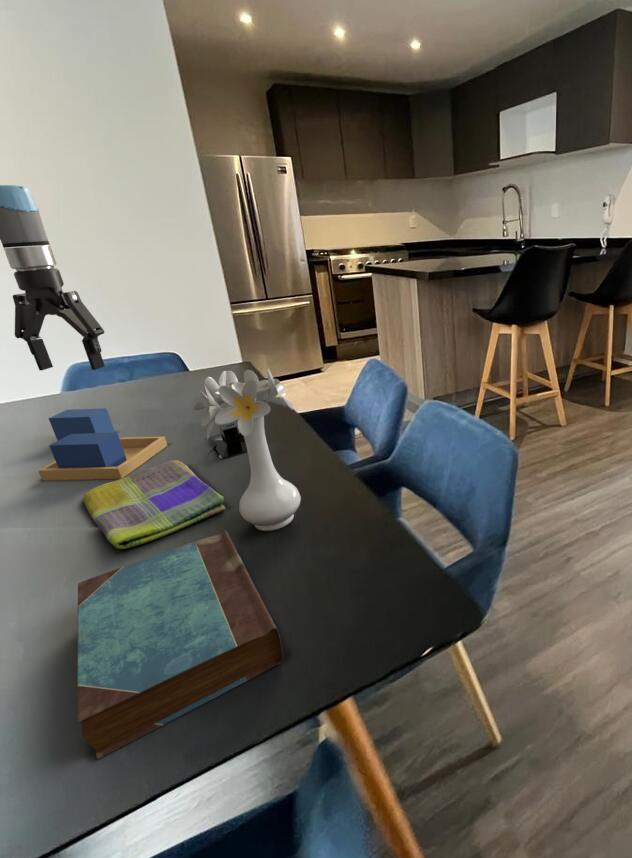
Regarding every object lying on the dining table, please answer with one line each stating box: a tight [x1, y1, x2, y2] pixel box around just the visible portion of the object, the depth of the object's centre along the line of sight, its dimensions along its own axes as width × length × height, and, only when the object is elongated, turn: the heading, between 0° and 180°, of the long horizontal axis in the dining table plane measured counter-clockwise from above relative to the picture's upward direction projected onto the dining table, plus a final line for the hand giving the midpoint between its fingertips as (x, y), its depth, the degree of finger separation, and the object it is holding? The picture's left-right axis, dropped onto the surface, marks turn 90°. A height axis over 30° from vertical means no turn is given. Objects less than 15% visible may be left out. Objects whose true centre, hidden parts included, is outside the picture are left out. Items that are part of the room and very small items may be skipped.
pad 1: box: [48, 407, 116, 442], centre depth 115 cm, size 10×6×7 cm, turn 86°
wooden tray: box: [38, 436, 168, 482], centre depth 103 cm, size 17×15×3 cm
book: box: [76, 530, 284, 760], centre depth 56 cm, size 23×18×5 cm
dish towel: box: [82, 459, 227, 550], centre depth 85 cm, size 18×24×3 cm
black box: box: [213, 421, 248, 460], centre depth 108 cm, size 12×7×5 cm, turn 36°
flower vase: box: [193, 368, 302, 532], centre depth 75 cm, size 13×18×25 cm
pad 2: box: [48, 431, 127, 468], centre depth 98 cm, size 10×6×7 cm, turn 86°
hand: (72, 368), depth 109 cm, fingers open, 13 cm apart
